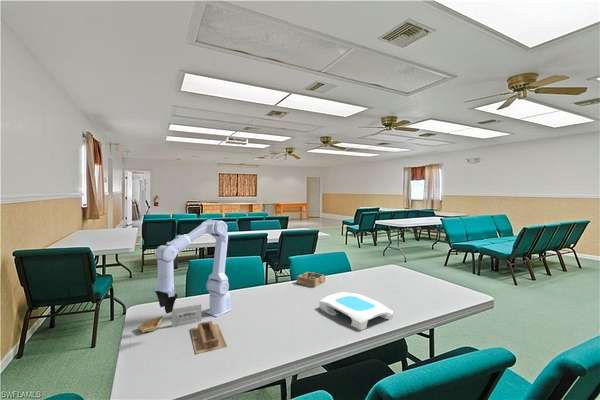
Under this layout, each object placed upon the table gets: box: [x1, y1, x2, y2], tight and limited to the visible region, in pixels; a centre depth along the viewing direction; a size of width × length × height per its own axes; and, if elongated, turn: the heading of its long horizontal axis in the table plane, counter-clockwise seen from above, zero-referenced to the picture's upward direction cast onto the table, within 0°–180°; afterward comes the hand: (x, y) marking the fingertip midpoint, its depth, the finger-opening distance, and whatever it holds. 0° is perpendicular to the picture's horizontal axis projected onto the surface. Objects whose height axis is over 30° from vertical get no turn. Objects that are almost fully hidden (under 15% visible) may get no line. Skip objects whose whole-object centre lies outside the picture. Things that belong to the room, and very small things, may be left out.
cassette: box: [171, 303, 202, 328], centre depth 121 cm, size 12×2×8 cm, turn 118°
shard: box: [136, 315, 164, 334], centre depth 118 cm, size 11×8×2 cm
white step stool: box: [319, 292, 394, 331], centre depth 131 cm, size 21×28×6 cm
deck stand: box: [296, 271, 326, 288], centre depth 176 cm, size 13×13×5 cm
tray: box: [190, 320, 228, 356], centre depth 109 cm, size 11×20×3 cm, turn 26°
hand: (165, 309), depth 112 cm, fingers open, 7 cm apart
